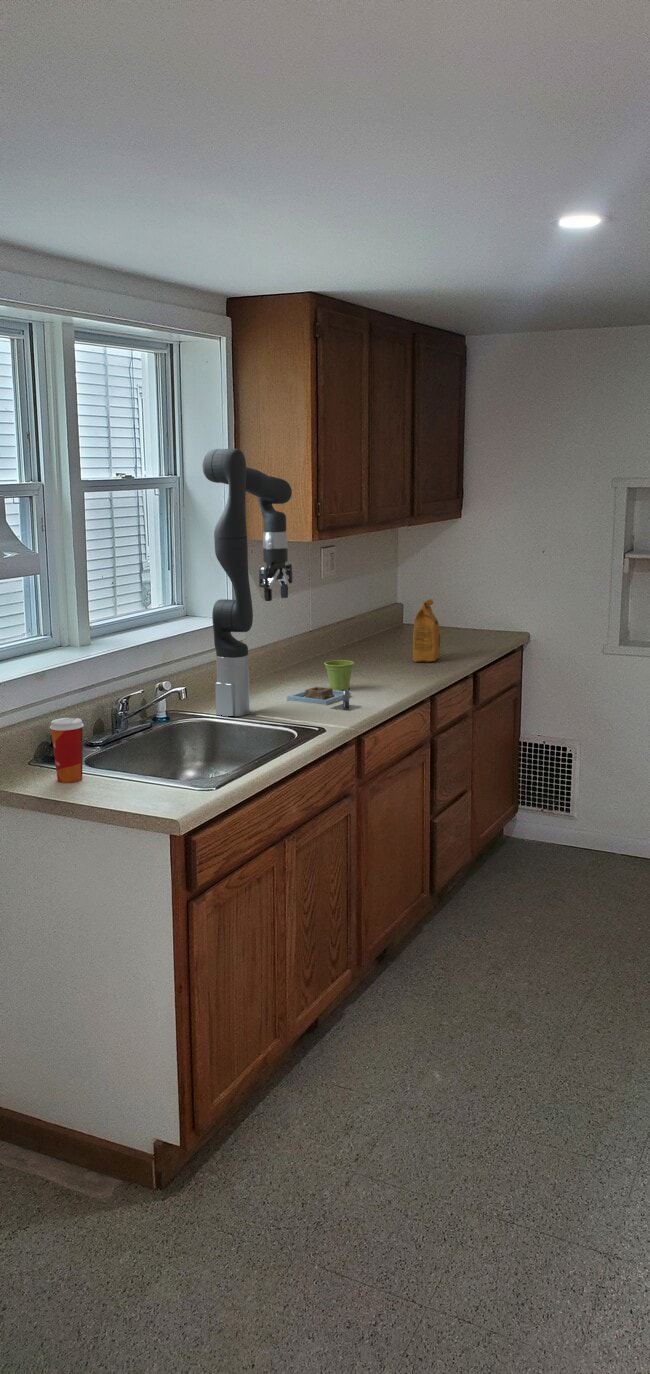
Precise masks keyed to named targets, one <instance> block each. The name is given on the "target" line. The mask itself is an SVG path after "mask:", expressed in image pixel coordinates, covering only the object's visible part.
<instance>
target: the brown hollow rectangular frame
mask: <svg viewBox="0 0 650 1374" xmlns="http://www.w3.org/2000/svg"><path fill="white" fill-rule="evenodd" d="M304 691H305V698H313V699H322V700H326V699H329V698H332V697H335V696H336V695H333V688H330V687H324V686H323V687H322V686H314V687H310V688H307V689H305V690H304Z"/></svg>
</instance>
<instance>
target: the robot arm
mask: <svg viewBox="0 0 650 1374" xmlns="http://www.w3.org/2000/svg"><path fill="white" fill-rule="evenodd" d="M201 466H202V467H201V468H202V473H203V475H204V476H205V478H206V479H207V480H208V481H209V482H212V483H217V484H225V485H228V493H227V501H226V504H225V507H224V509H223V511H222V512H221V515H220V516H219V518H218V520H217V522H216V525H215V526H214V531H213V532H214V533H213V538H214V553H215V556H216V559H217V561H218V563H219V565H220V566H221V568H222V569H223V571H224V572H225V573H226V575H227V576H228V578H229V579H230V582H231V584H232V586H233V591H234V595H235V596H234V597H235V599H223V598H222V599H218V600H215V603H214V605H213V608H212V617H211V619H212V627H213V629H212V630H213V642H214V647H215V653H216V654H215V655H216V656H215V657H216V658H215V659H216V663H215V664H216V682H215V684H214V687H215V693H214V694H215V715H216V714H217V715H216V716H221V715H222V716H223V717H228V716H235V717H242V716H246V715H249V714H250V713H251V709H250V708H251V707H250V705H251V704H250V700H251V699H250V673H249V668H250V667H249V646H248V645H247V644H246V643H244V642H243V641H240V640H238V639H236V638H235V637H234V636H233V635H232V633H247V632H249V631H250V630H251V629H252V626H253V621H254V612H253V611H254V610H253V601H252V594H251V586H250V585H251V584H250V577H249V554H248V553H249V552H248V545H249V544H248V531H247V517H246V515H247V514H246V495H247V493H249V494H250V495H252V496H255V497H256V498H257V502H258V505H259V508H260V512H261V516H262V523H263V524H262V527H263V529H262V530H263V531H262V532H263V533H262V534H263V536H262V559H263V560H262V561H263V562H264V563H265V565H266V566H262V567H259V570H258V571H259V573H258V575H259V576H258V579H259V581H258V584H259V585H258V587H259V588H262V589H263V590H264V591H263V592H264V593H263V594H264V596H263V597H264V601H265V602H272V601H273V589H272V587H273V584H275V583H276V581H278V582H279V585H280V598H281V599H287V598H289V585H290V584H292V583H293V568H292V567H293V566H292V564H291V563H288V559H289V557H288V555H289V553H288V549H289V548H288V547H289V546H288V534H287V515H286V514H285V513H284V512H282V511H278V510H276V509H275V508H274V504H275V505H283V504H286V503H288V502H289V501H290V500H291V499H292V494H293V490H292V489H293V488H292V487H291V485H290V483H289V482H288V481H287V480H285V479H282V478H279V477H277V476H276V477H275V476H270V475H268V474H266V473H263V472H262V471H260V470H258V469H256V468H252V467H247V462H246V457H245V455H244V452H243V451H242V450H241V449H240V448H214V449H210V450H207V452H206V453H204V455H203V458H202V462H201ZM246 492H247V493H246Z"/></svg>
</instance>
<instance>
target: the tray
mask: <svg viewBox="0 0 650 1374" xmlns="http://www.w3.org/2000/svg"><path fill="white" fill-rule="evenodd" d="M333 695H335V697H332V698H329V699H326V700H322V699H313V698H305V697H304V696H305V690H303V691H300V692H296V693H292V694H289V695H287V696H286V699H287V700H286V701H287V702H289V701H291V702H300V703H305V704H307V703H308V704H315V705H322V706H323V705H324V706H327V705H330V704H332V703H336V702H338V701H341V700H342V701H343V690H341V691H339V690H333ZM351 695H352V692H350V691H349V698H351Z"/></svg>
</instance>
